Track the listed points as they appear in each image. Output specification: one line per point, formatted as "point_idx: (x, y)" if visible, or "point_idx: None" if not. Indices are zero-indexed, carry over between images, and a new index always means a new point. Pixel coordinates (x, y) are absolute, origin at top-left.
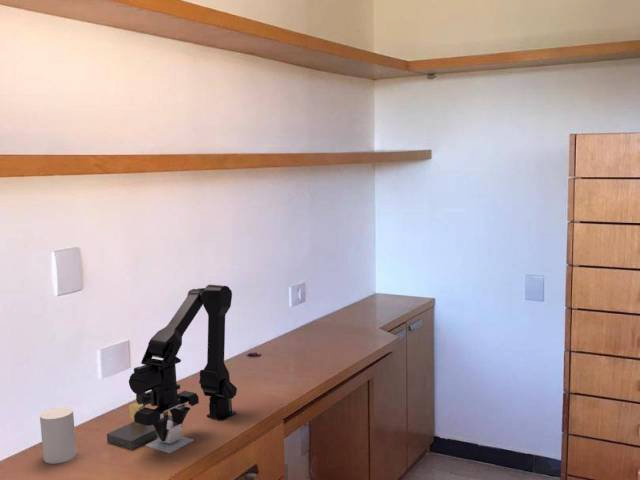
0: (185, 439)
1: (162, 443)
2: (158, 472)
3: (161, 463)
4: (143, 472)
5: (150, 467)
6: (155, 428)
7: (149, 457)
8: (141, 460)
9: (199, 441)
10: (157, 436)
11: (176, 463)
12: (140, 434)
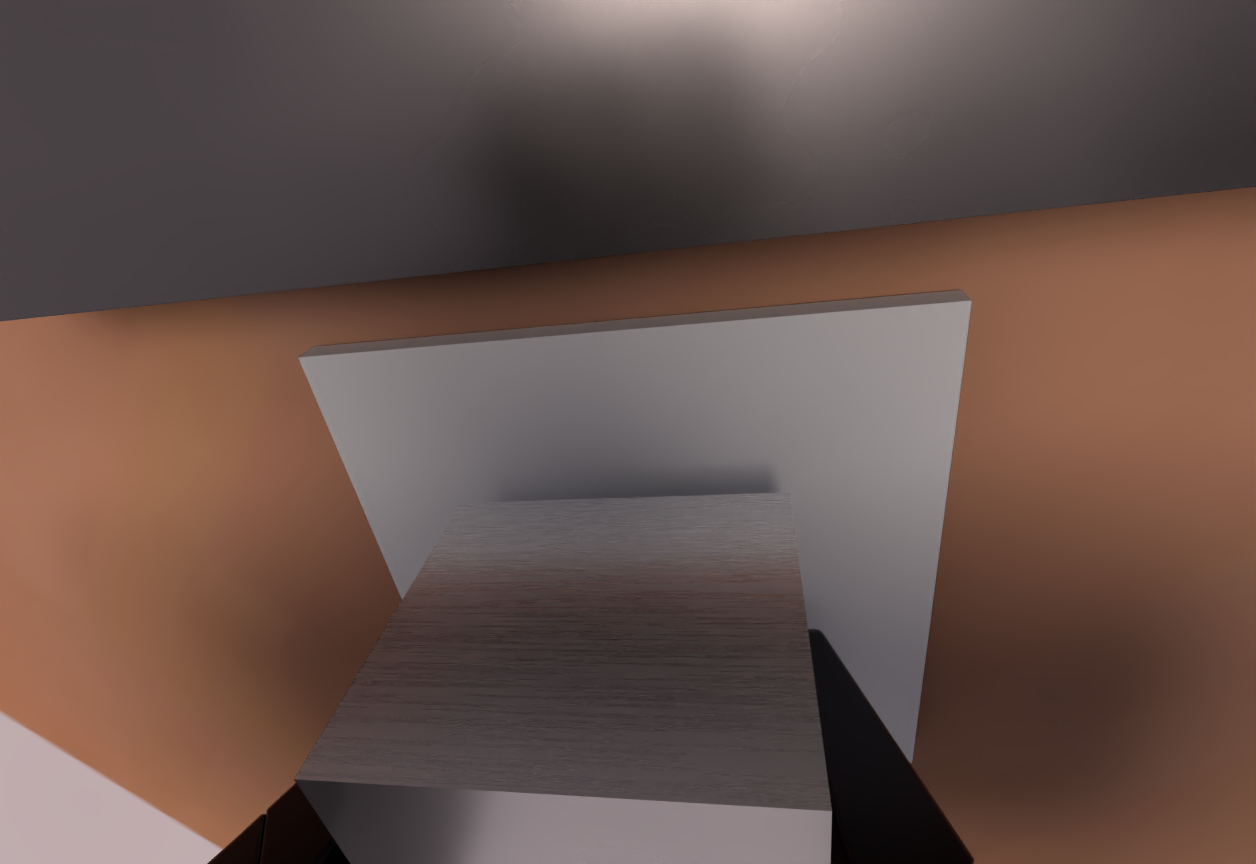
0: None
1: None
2: (233, 837)
3: None
4: (118, 764)
5: (196, 756)
6: (217, 862)
7: (249, 629)
8: (146, 612)
9: None
10: (438, 568)
11: None
12: (128, 171)
